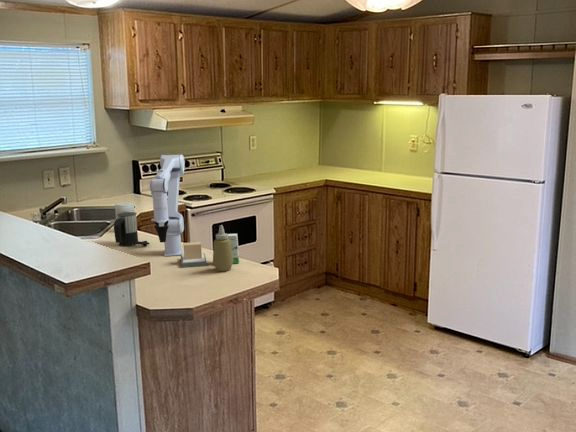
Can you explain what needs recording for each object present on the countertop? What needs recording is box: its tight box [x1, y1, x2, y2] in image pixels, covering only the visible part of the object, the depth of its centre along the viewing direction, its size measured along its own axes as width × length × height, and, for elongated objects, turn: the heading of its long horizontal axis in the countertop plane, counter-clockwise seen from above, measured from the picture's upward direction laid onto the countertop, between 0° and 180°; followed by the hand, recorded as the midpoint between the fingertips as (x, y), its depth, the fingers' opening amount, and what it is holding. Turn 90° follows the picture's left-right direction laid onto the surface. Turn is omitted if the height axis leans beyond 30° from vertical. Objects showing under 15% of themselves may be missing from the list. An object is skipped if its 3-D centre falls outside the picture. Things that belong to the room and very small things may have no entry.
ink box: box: [227, 233, 240, 265], centre depth 258 cm, size 9×5×12 cm, turn 92°
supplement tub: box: [114, 201, 135, 220], centre depth 324 cm, size 10×10×15 cm
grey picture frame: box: [180, 252, 208, 269], centre depth 261 cm, size 14×10×2 cm
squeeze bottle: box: [212, 224, 233, 272], centre depth 248 cm, size 8×8×18 cm
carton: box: [183, 241, 203, 260], centre depth 261 cm, size 7×4×6 cm, turn 102°
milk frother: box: [113, 211, 150, 247], centre depth 293 cm, size 14×16×15 cm
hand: (162, 240), depth 259 cm, fingers open, 7 cm apart
